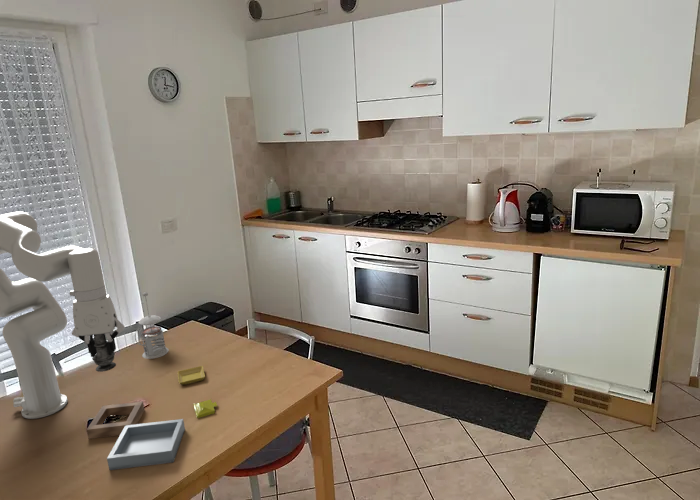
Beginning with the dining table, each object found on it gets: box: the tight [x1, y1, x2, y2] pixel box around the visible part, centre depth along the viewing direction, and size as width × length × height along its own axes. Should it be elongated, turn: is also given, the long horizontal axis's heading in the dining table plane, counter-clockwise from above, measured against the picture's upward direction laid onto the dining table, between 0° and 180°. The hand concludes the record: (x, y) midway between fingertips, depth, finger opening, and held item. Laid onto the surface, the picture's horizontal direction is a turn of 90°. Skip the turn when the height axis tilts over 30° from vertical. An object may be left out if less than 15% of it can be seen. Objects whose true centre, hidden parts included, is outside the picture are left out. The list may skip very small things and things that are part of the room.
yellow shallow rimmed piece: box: [177, 365, 206, 386], centre depth 167 cm, size 9×9×2 cm
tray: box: [106, 418, 186, 471], centre depth 131 cm, size 16×14×4 cm
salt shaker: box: [91, 334, 117, 373], centre depth 137 cm, size 6×6×12 cm
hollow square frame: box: [86, 400, 145, 440], centre depth 143 cm, size 12×12×3 cm
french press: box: [134, 291, 170, 360], centre depth 184 cm, size 10×12×25 cm
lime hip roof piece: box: [192, 398, 218, 419], centre depth 148 cm, size 10×9×3 cm
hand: (103, 353), depth 137 cm, fingers closed on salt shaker, 4 cm apart
